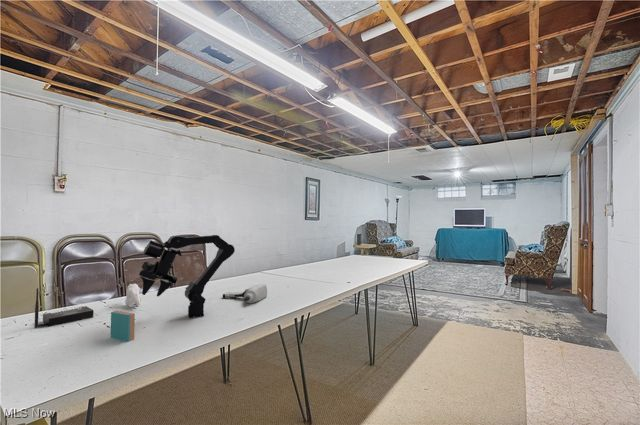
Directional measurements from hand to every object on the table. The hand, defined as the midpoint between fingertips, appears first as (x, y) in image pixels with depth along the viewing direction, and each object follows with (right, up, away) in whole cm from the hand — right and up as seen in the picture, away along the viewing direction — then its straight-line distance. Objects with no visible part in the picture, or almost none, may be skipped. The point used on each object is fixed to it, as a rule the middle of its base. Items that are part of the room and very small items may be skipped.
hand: (150, 295), depth 134 cm
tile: (-2, -12, -17) cm, 21 cm away
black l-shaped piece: (-42, -13, +3) cm, 44 cm away
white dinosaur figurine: (-23, -13, +26) cm, 37 cm away
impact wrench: (+29, -14, +40) cm, 52 cm away
